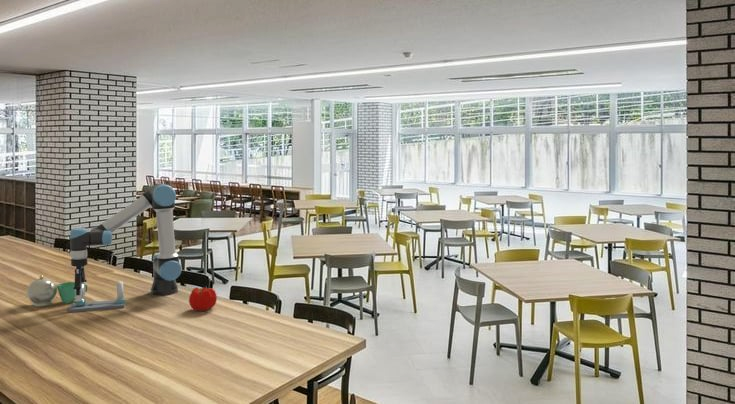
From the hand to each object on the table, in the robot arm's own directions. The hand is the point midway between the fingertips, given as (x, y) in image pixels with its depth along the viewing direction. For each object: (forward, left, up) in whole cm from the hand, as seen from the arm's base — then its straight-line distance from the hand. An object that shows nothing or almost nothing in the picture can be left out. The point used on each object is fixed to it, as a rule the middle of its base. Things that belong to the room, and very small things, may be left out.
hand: (80, 297), depth 279 cm
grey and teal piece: (-8, 0, -6) cm, 10 cm away
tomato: (-60, +22, -6) cm, 64 cm away
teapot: (+21, -14, -6) cm, 26 cm away
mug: (+6, -16, -6) cm, 18 cm away
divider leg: (0, 0, -4) cm, 4 cm away
